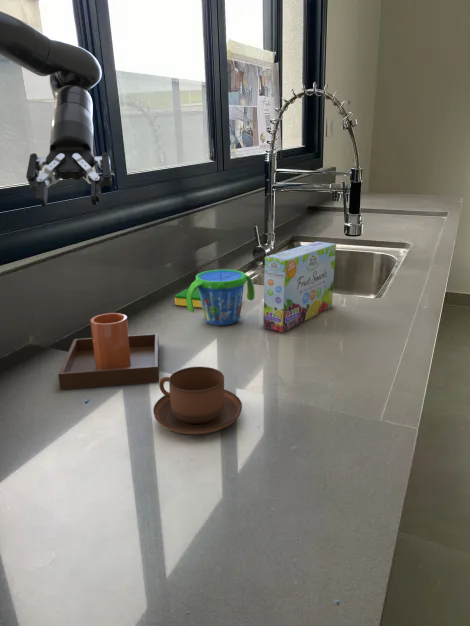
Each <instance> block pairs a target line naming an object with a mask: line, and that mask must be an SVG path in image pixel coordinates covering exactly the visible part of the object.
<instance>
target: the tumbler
mask: <svg viewBox="0 0 470 626" xmlns="http://www.w3.org/2000/svg"><path fill="white" fill-rule="evenodd" d="M89 323H90V328H91V338H92V339H93V348H94V357H95V365H96V369H97V370H102V369H116V368H129V367H130V366H131V354H130V343H129V335H130V334H129V323H128V315H126V314H124V313H120V312H107V313H101V314H98V315H95V316H93V317H91V318H90V320H89Z"/></svg>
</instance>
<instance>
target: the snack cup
mask: <svg viewBox="0 0 470 626" xmlns="http://www.w3.org/2000/svg"><path fill="white" fill-rule="evenodd" d="M245 285H246V286H247V291H246V298H247V300H249V301H253V300H254V299H255V296H256V295H255V292H256V291H255V286H254V282H253V279H252V278H251V277H250V276H249V275H248V274H246V273H245V272H243V271H241V270H238V269H227V268H225V269H222V268H220V269H211V270H205V271H202V272H199V273H197V274H196V275H195V280H193V282H192V283H191V284H190V286H189V287H188V288H189V290H188V293H187V301H186V302H187V306H186V307H187V310H188V311H189V312H190V313H192V314H193V313H195V307H193V302H192V294H193V292H194V291H195V289H199V292H200V298H201V303H202V308H201V309H202V312H203V318H204V320H205V321H206V323H207V324H210V325H214V326H228V325H229V326H230V325H233V324H235V323H238V322H239V320H240V318H241V314H242V313H241V312H242V304H243V296H244V286H245Z"/></svg>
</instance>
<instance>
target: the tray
mask: <svg viewBox="0 0 470 626" xmlns="http://www.w3.org/2000/svg"><path fill="white" fill-rule="evenodd" d="M129 343H130V354H131V366H130V367H129V368H116V369H102V370H97V369H96V365H95V357H94V348H93V339H92V337H83V338H74V339H73V341H72V343H71V345H70V347H69V348H68V352H67V354H66V356H65V358H64V361H63V363H62V365H61V367H60V369H59V371H58V374H57V376H58V384H59V390H60V391H62V390H63V391H64V390H77V389H87V388H88V389H89V388H101V387H103V388H104V387H115V386H127V385H141V384H150V383H152V384H153V383H159V382H160V339H159V333H157V332H156V333H143V334H142V333H141V334H129Z"/></svg>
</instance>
